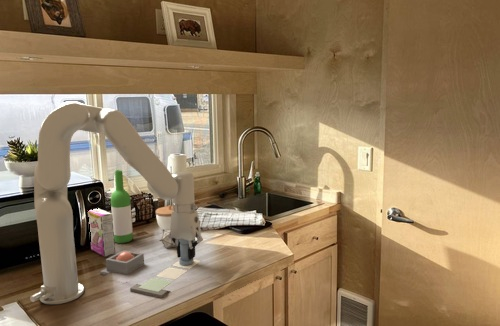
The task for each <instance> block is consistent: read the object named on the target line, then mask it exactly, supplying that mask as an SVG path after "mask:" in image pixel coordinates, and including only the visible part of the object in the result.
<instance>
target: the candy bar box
mask: <svg viewBox="0 0 500 326" xmlns="http://www.w3.org/2000/svg"><path fill="white" fill-rule="evenodd" d="M97 208H98V209H97ZM97 208H93V210H92V209H90V210H89V211H88V210H87V211H88V212H87V218H88V217H89V222H88V225H89V224H90V232H91V242H90V249H91V251H93V252H95V253H97V254H98V255H100V256H102V257H110V256H113V255H115V254H116V242H115V241H114V230H113V218H112V212H109V211H107V210H104V209H101V208H99V207H97ZM90 232H89V233H90Z"/></svg>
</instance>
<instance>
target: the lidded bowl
mask: <svg viewBox="0 0 500 326" xmlns="http://www.w3.org/2000/svg"><path fill="white" fill-rule="evenodd" d="M172 211H173V205H167V206H162V207H159V208H157V209H155V216H156V217H155V218H156V222H157V225H158V226H159V228H160V229H161V230H163V229H164V231H166V230H171V229H170V225H171V214H172ZM164 231H163V232H164Z"/></svg>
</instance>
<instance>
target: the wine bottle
mask: <svg viewBox="0 0 500 326" xmlns="http://www.w3.org/2000/svg"><path fill="white" fill-rule="evenodd" d="M114 180H115V191H113V192H112V194H111V196H110V207H111V213H112V218H113V230H114V242H115V243H117V244H126V243H129V242H132V240H133V237H134V236H133V220H132V219H133V218H132V208H131V207H132V206H131V196H130V194H129V192H128V191H127V190H125V189H124V176H123V170H122V169H120V170H119V169H118V170H114Z"/></svg>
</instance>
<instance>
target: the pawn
mask: <svg viewBox="0 0 500 326" xmlns="http://www.w3.org/2000/svg"><path fill="white" fill-rule="evenodd" d="M179 242H180V256H181V257H179V259H178V261H179V264H180V265H182V266H189V265H192V264H193V263H194V261H193V259H194V258H192V259H191V260H190V259H189V257H188V249H189V248H190V247H189V243H188V240H185V239H183V238H180V239H179Z"/></svg>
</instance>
